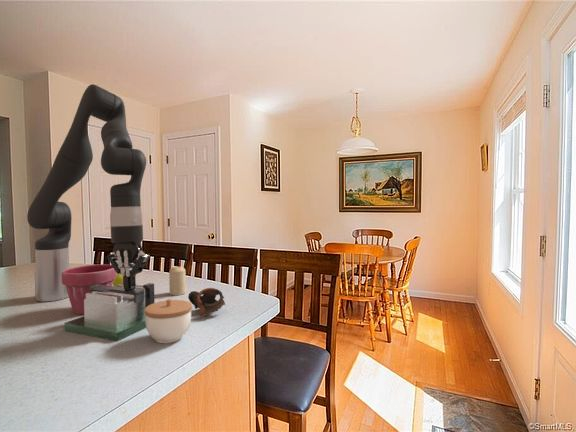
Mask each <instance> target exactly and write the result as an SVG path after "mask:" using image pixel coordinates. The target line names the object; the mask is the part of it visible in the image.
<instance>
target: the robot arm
mask: <svg viewBox="0 0 576 432" xmlns="http://www.w3.org/2000/svg"><path fill="white" fill-rule="evenodd" d="M77 106H78V107H77V110H76V112H75V115H74V116H73V117H74V118H73V120H72V123H71V126H70V128H69V130H68V132H67V134H66V135H65V138H64V140H63V142H62V144H61V147H60V148H59V150H58V151H57V155H56V157H55V158H54V162H53V164H52V166H51V168H50V170H49V173H48V174H47V177H46V178H45V180H44V182H43V184H42V186H41V188H40V189H39V191H38V193H37V194H36V196H35V197H34V199H33V201H32V202H31V204H30V205H29V208H28V210H27V211H28V212H27V216H26V218H27V219H26V220H27V223H28V224H29V226H30V227H31V228H33V229H37V230H48V232H47V233H46V234H45V235H43V236H42V237H41V238H39V239H37V240H36V241H35V242H34V249H35V250H34V252H35V253H34V254H35V270H34V296H35V297H34V299H35V300H36V301H37V302H53V301H55V302H56V301H60V300H64V299H67V298H69V296H68V293H67V289H66V285H63V284H62V271H63V270H66V269H69V268H70V256H69V252H70V251H69V248H70V247H69V246H70V245H69V244H70V241H71V239H72V238H71V236H72V211H71V208H70V206H69V205H68V204H67V203H66V202H64V201H59V200H60V199H61V197H62V196H63V195H64V194H65V193H67V191H69V190H70V189H71V188H73V187H74V186H75V185H76V184H79V182H80V181H81V180H83V178H84V177H85V176H86V175H87V172H88V170H89V168H90V166H91V164H92V162H93V159H94V158H93V157H94V155H93V153H94V152H93V148H92V145H91V141H90V137H89V131H88V125H89V121H90V118H91V116H92V117H94V118H96V119H99V120H100V121H103V122H105V123H104V124H103V125H102V127H101V130H100V137H101V141H102V144H103V150H102V152H101V156H100V165H101V168H102V170H103V171H104V172H106V173H107V174H108V175H111V176H112V175H113V176H117V175H118V176H130V179H129V181H127V182H125V183H118V184H113V185H112V186H111V187H110V190H109V195H110V214H109V215H110V216H109V217H110V219H109V220H110V224H109V225H110V242H111V244H114V247H113V251H112V253H111V254H107V255H106V258H107V260H108V262H109V263H110V265H112V267H113V268H114V270H115V272H116V275H117V274H119V273H120V274H121V276H123V287H124V290H127V291H130V290H134V289H135V286H136V284H137V283H136V281H137V280H136V275H137V274H140V273H142V272H143V270H144V268H145V266H146V265H147V264H148V262H149V260H150V258H151V255H150V254H146V253H145V252H144V251H143V246H142V241H143V240H144V231H143V230H144V229H143V213H142V204H141V203H142V202H141V190H142V189H141V188H142V183H143V178H144V174H145V170H146V167H147V158H146V156H145V153H144V152H143V151H142V150H140V149H137V148H133V142H132V140H131V137H130V134H129V131H128V128H127V115H126V114H127V113H126V107H125V103H124V101H123V99H122V98H121V97H120V96H119V95H116V94H115V93H112V92H111V91H109V90H106V88H102V87H100V86H99V85H96V84H94V83H93V84H89V85H88V86H87V87H86V89H85V90H84V92H83V94H82V96H81V98H80V100H79V104H78V105H77Z"/></svg>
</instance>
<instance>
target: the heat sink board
mask: <svg viewBox="0 0 576 432" xmlns="http://www.w3.org/2000/svg"><path fill="white" fill-rule="evenodd" d="M117 287H123V283H122V285H117ZM135 289H140V290H144V301H141V302H138V303H134V295H129V294H122V293H114V292H107V293H104V292H103V291H99V290H89V291H88V293H86V299H84V314H83V316H80V317H78V318H74V319H71V320H69V321H66V322H64V331H66V332H71V333H74V334H81V335H85V336H91V337H95V338H99V339H105V340H109V341H115V342H119V341H121V340H123V339H125V338H127V337H129V336H131V335H134V334H136V333H138V332H140V331H142V330H144V329H147V327H146V322H145V308H146V307H147V306H149V305H151V304H153V303H155V283H151V282H149V283H145V284H137V283H136V286H135Z"/></svg>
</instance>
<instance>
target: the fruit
mask: <svg viewBox="0 0 576 432" xmlns="http://www.w3.org/2000/svg"><path fill="white" fill-rule="evenodd" d="M122 283H123V276H121V274H120V273H119V274H117V273H116V278H115V279H114V280H113V284H112V286H116V287H117V285H122Z"/></svg>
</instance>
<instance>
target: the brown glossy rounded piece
mask: <svg viewBox="0 0 576 432" xmlns="http://www.w3.org/2000/svg"><path fill="white" fill-rule="evenodd" d="M217 296H219V299H218V300H217V299H216V298H217ZM187 298H188V301H189V302H190V303H191V304H192V306H194V309H195V310H197V309H198V312H197V314H198V317H200V318H204V317H205V316H206V315H210V314H212V313H215V312H218V311H219V310H221V309H222V307H223V306H225V305H226V302H225V300H224V299H225V297H224V295H223V293H222V291H221V290H219V289H217V288H215V287H207V288H203V289H202V290H200V291H199V292H198V291H196V290H195V291H193V290H192V291H190V293H188V297H187Z"/></svg>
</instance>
